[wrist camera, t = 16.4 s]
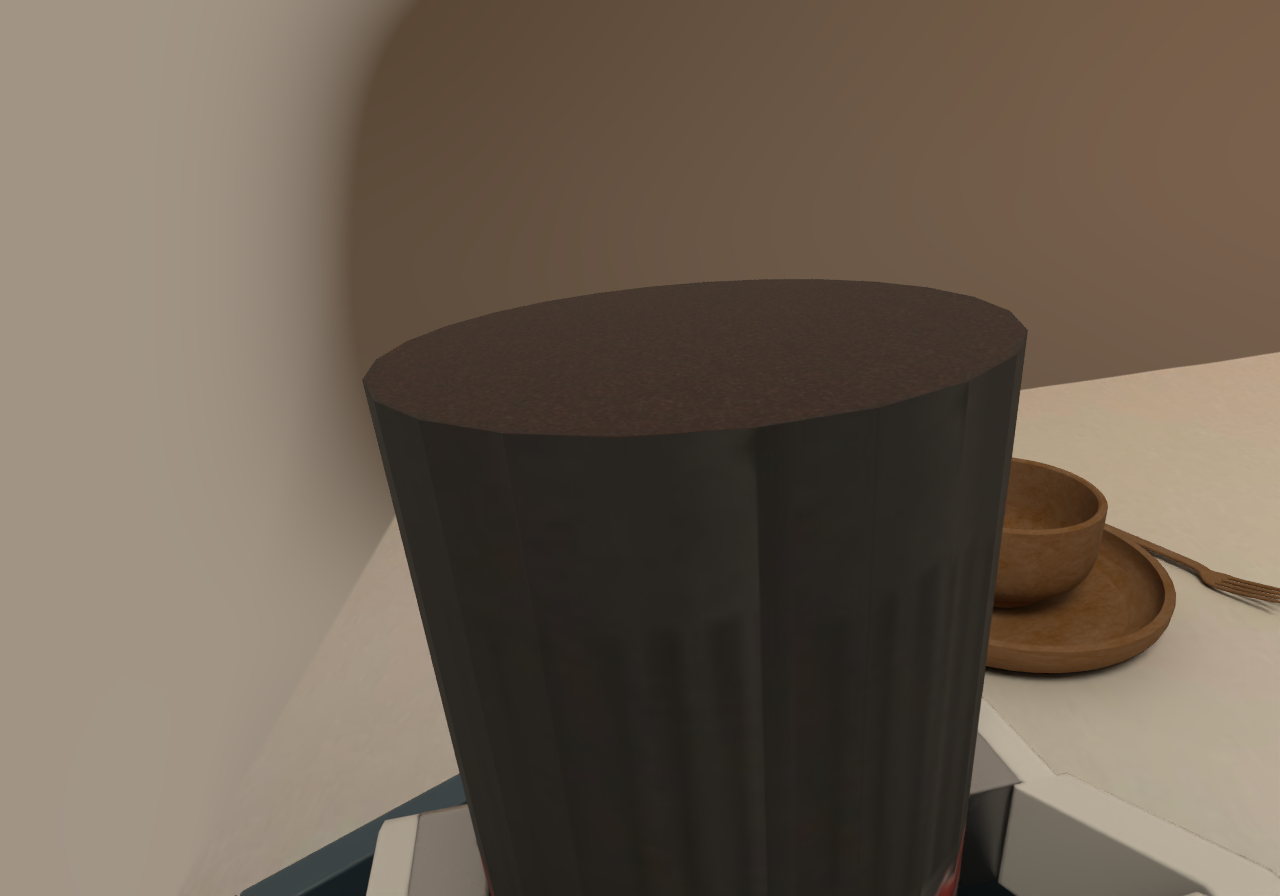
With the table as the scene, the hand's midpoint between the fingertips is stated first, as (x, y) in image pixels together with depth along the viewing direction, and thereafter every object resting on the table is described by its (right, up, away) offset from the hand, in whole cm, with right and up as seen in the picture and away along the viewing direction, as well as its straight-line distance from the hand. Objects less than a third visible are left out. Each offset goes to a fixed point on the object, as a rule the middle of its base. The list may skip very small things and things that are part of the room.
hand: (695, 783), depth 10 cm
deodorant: (+1, -8, +2) cm, 8 cm away
